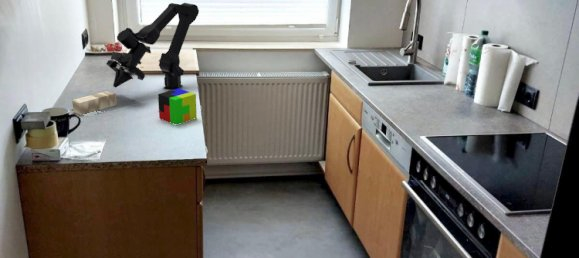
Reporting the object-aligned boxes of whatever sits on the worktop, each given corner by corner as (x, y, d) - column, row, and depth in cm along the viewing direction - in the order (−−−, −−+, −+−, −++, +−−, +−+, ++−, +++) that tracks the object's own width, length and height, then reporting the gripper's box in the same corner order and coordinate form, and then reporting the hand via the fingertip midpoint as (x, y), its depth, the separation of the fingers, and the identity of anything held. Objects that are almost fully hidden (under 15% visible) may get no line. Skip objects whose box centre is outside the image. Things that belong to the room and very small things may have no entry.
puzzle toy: (179, 112, 212) (178, 88, 208) (196, 118, 206) (195, 94, 203) (159, 118, 205) (157, 94, 201) (176, 125, 199) (175, 100, 195)
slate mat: (121, 96, 227) (121, 95, 227) (139, 103, 220) (139, 101, 220) (70, 110, 209) (70, 109, 209) (88, 118, 202) (87, 117, 202)
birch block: (108, 90, 216) (72, 100, 205) (115, 93, 214) (79, 103, 202) (109, 102, 218) (73, 112, 206) (116, 105, 215) (81, 115, 204)
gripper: (108, 40, 218) (86, 71, 214) (136, 48, 208) (115, 80, 204) (125, 55, 227) (105, 86, 223) (154, 64, 217) (133, 95, 213)
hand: (114, 86), depth 215 cm, fingers closed
